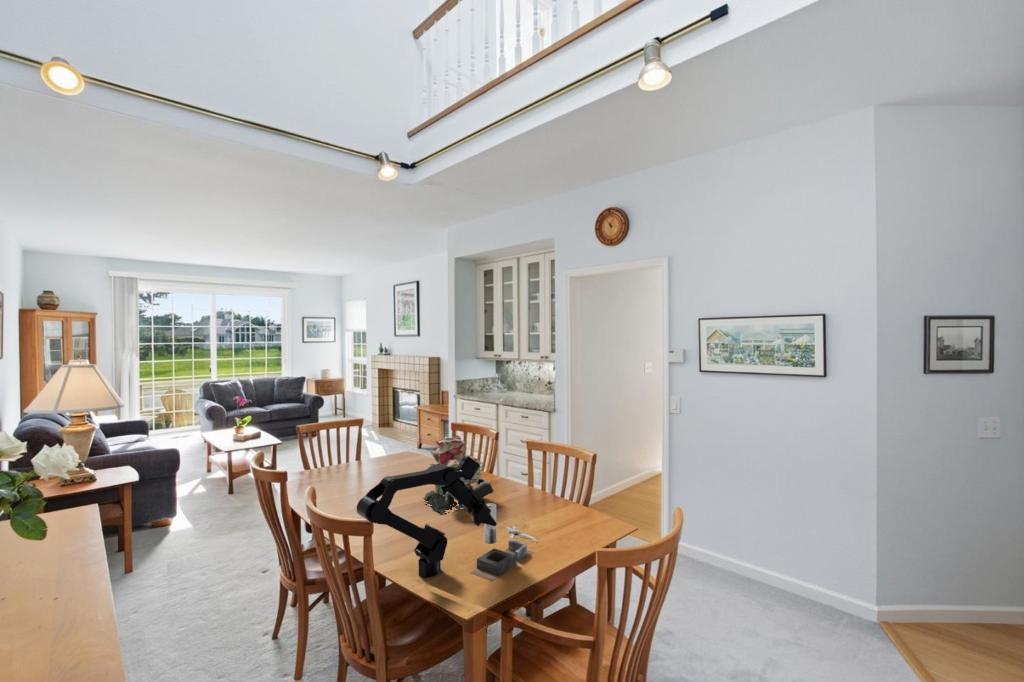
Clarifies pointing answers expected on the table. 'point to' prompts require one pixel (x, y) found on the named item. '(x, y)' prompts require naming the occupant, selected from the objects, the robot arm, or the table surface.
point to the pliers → (515, 531)
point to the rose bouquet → (449, 456)
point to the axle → (489, 529)
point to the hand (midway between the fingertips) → (494, 522)
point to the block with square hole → (500, 560)
